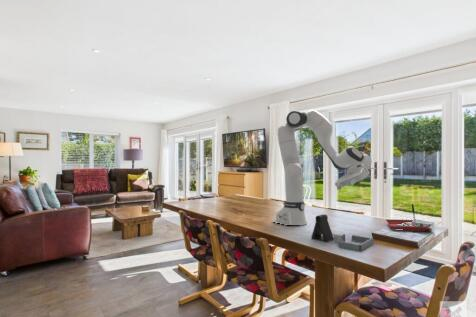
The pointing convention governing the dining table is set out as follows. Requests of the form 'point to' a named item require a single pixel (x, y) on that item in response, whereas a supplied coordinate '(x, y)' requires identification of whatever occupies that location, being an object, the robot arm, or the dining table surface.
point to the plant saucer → (394, 226)
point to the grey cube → (339, 237)
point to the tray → (364, 245)
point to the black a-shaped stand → (322, 229)
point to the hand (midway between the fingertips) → (344, 186)
